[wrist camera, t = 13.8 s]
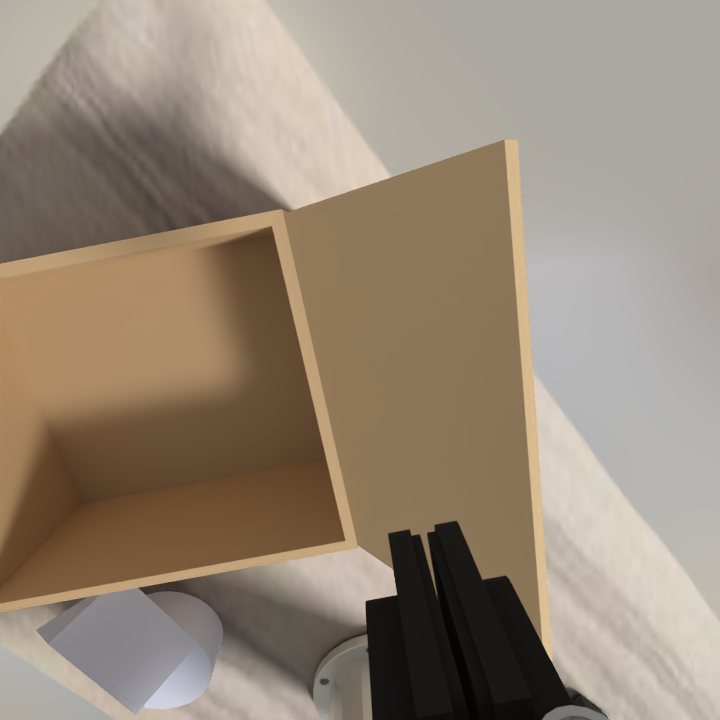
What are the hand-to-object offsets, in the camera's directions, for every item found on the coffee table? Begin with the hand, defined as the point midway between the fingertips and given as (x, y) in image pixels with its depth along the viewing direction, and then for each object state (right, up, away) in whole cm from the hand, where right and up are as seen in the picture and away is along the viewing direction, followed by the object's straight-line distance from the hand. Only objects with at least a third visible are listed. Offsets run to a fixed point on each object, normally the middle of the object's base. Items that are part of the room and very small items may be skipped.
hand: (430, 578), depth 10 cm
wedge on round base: (-20, -17, +27) cm, 37 cm away
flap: (0, +3, +7) cm, 7 cm away
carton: (-15, +4, +20) cm, 25 cm away
